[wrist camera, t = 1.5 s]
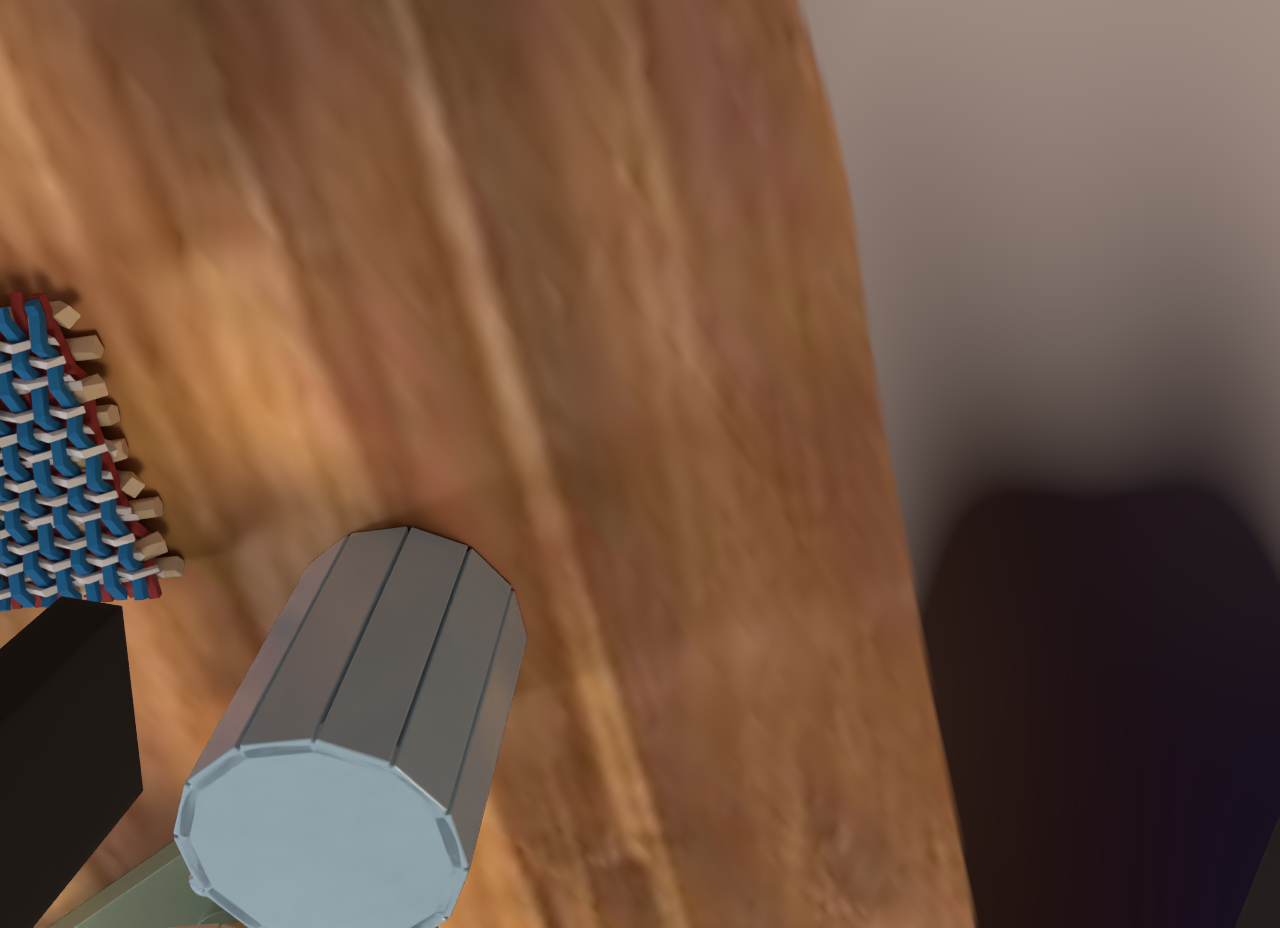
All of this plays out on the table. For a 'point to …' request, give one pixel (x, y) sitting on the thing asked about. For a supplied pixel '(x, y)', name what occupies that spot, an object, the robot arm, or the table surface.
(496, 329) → the table surface
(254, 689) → the blue cup
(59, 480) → the woven mat
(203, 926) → the cream cup
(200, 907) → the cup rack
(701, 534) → the table surface
